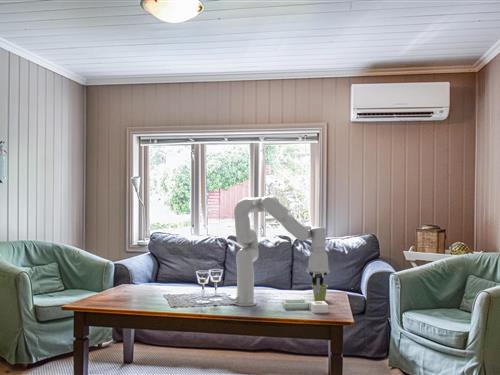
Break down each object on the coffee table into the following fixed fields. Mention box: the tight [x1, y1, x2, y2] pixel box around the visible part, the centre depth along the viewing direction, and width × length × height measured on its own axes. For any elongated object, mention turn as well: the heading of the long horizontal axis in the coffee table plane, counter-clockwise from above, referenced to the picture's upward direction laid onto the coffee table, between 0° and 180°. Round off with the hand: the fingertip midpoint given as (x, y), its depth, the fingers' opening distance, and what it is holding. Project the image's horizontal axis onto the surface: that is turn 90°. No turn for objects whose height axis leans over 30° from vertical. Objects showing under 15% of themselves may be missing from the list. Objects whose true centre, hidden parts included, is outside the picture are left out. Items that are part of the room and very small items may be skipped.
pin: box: [315, 272, 322, 295], centre depth 216 cm, size 4×4×11 cm
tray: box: [281, 298, 310, 311], centre depth 223 cm, size 13×10×3 cm
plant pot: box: [311, 283, 328, 302], centre depth 238 cm, size 9×9×9 cm
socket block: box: [309, 300, 329, 314], centre depth 215 cm, size 8×8×4 cm
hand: (317, 284), depth 216 cm, fingers closed on pin, 3 cm apart
